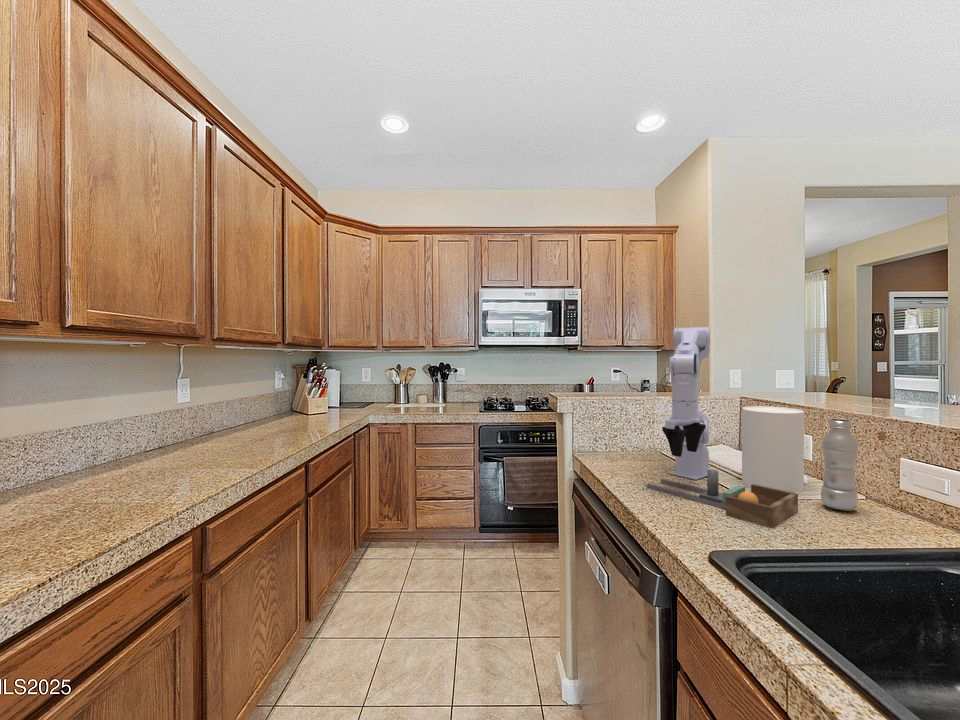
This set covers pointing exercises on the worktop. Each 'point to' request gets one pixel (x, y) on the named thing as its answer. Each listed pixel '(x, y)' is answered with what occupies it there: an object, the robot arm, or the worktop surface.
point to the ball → (748, 496)
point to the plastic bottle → (839, 467)
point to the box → (764, 506)
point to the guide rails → (685, 495)
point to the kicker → (713, 488)
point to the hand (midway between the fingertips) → (684, 453)
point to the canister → (773, 447)
